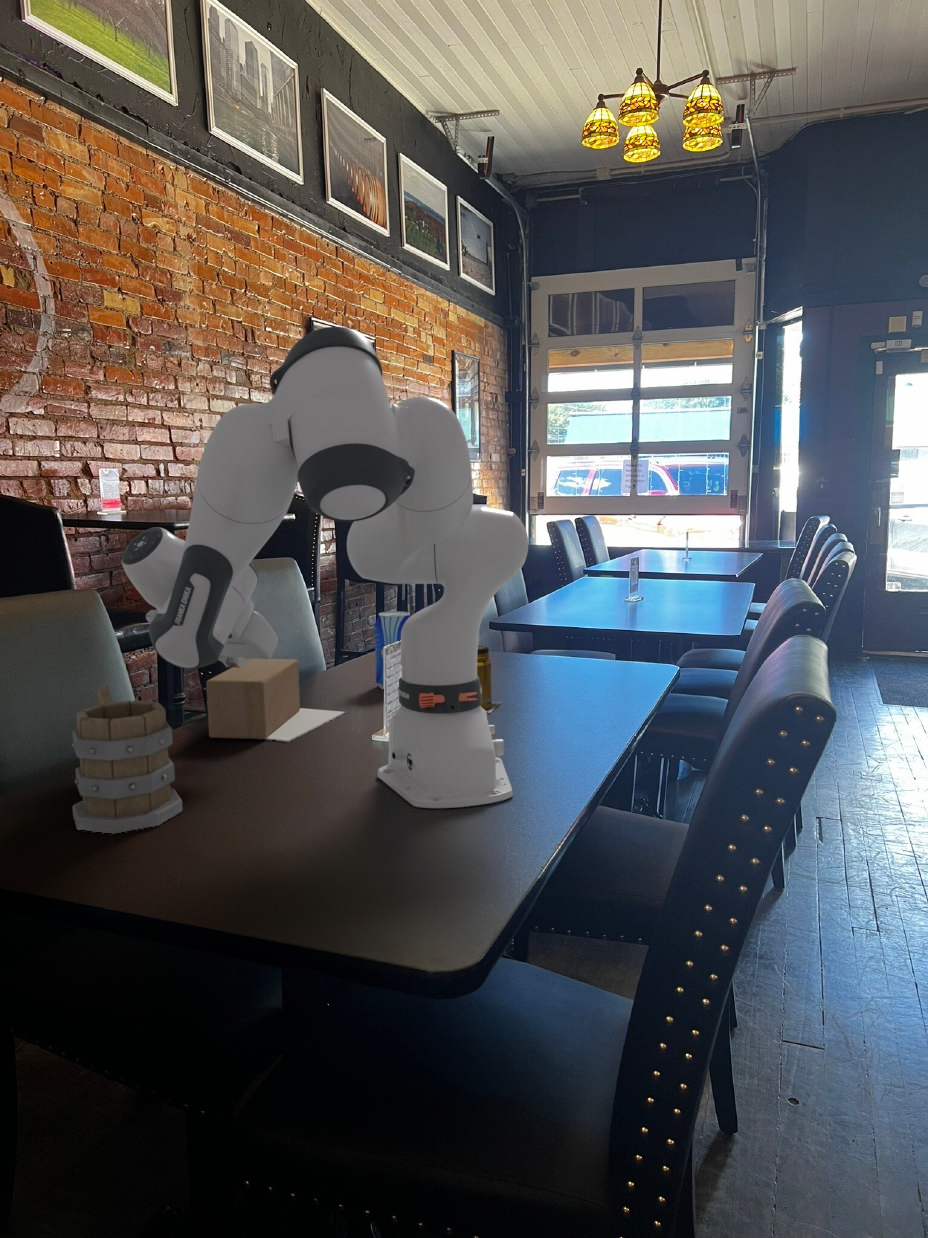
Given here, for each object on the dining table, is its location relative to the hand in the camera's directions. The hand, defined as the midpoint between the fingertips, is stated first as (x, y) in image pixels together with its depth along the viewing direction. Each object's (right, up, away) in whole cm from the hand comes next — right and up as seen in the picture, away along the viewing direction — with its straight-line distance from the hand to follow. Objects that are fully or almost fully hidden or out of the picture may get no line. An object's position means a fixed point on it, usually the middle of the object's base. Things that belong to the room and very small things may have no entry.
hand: (236, 664), depth 141 cm
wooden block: (-1, -8, +2) cm, 8 cm away
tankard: (-8, -18, -27) cm, 33 cm away
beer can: (+23, -7, +42) cm, 49 cm away
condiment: (+40, -10, +24) cm, 48 cm away
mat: (+5, -11, +14) cm, 18 cm away
